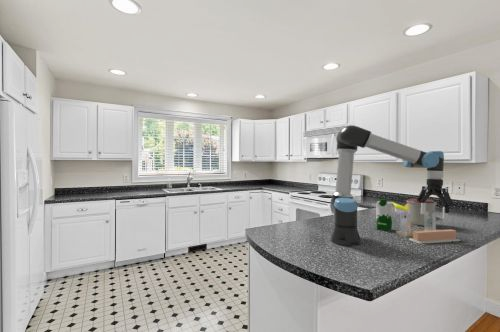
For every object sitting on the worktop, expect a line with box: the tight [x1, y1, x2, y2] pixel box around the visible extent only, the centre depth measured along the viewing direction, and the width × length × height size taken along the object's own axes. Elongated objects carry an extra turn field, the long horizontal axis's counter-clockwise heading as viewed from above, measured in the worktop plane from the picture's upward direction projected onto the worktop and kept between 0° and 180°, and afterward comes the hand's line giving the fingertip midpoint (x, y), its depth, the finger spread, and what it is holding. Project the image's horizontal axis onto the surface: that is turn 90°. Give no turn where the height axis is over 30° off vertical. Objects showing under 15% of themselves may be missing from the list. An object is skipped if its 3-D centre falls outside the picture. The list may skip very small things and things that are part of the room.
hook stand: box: [395, 212, 437, 238], centre depth 155 cm, size 24×8×13 cm, turn 102°
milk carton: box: [375, 198, 393, 232], centre depth 166 cm, size 9×9×20 cm
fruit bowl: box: [391, 201, 409, 217], centre depth 213 cm, size 28×27×11 cm
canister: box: [405, 195, 437, 227], centre depth 182 cm, size 18×18×21 cm
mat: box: [408, 237, 461, 245], centre depth 142 cm, size 27×7×1 cm, turn 102°
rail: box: [412, 229, 457, 241], centre depth 142 cm, size 26×3×4 cm, turn 102°
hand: (433, 216), depth 142 cm, fingers open, 13 cm apart
